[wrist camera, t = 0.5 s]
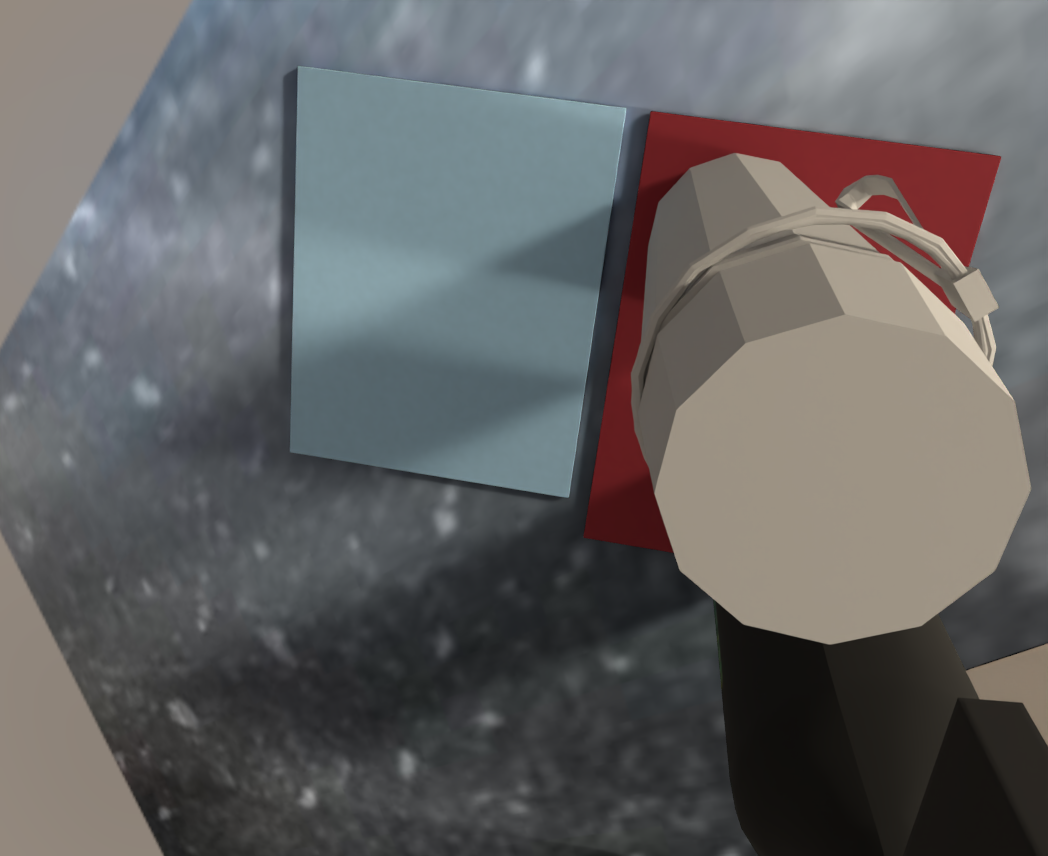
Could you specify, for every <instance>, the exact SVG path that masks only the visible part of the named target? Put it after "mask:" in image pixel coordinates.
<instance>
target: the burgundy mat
mask: <svg viewBox="0 0 1048 856" xmlns="http://www.w3.org/2000/svg"><path fill="white" fill-rule="evenodd" d="M732 153H739V154H743V155H748V156H753V157H758V158H763V159H768V160H773V161H778V162H781V163H782V164H783V165H784V166H785V167H786V168H787V169H788V170H789V171H791V172H792V173H793V174H794V175H795V176H796V177H797V178H798V179H799V180H800V181H802V182H803V183H804V184H805V185H806V186H807V187H808V188H809V189H810V190H811V191H812V192H814V193H815V194H816V195H817V196H818V197H819V198H820V199H821V200H822V201H823V202H825V203H826V204H827V205H828V206H829V207H831V208H838V206H837V205H836V203H835V201H836V199H837V198H838V196H839V195H840V193H841V192H842V191H843V189H844V188H846V187H847V186H849V185H851V184H852V183H854V182H856V181H857V180H859V179H861V178H862V177H864V176H867V175H881V176H885V177H889V178H892V179H893V181H894V183H895V184H896V186H897V187H898V189H899V191H900V192H901V194H902V195H903V197H904V199H905V200H906V202H907V203H908V205H909V206H910V208H911V210H912V211H913V213H914V214H915V216H916V218H917V219H918V221H919V222H920V224H921V226H922V227H923V229H924V230H926V231H928V232H930V233H932V234H934V235H936V236H939V237H941V238H943V240H944V241H945V242H946V244H947V245H948V246H949V247H950V249H951V250H952V251H953V253H954V254H955V255H956V256H957V258H958V259H959V260H960V262H961V263H962V264H963V265H964V266H965V267H969V263H970V260H971V257H972V253H973V250H974V247H975V243H976V240H977V237H978V233H979V230H980V226H981V223H982V220H983V216H984V213H985V210H986V206H987V203H988V200H989V196H990V193H991V190H992V186H993V183H994V180H995V176H996V173H997V170H998V166H999V163H1000V160H1001V157H1000V156H995V155H987V154H979V153H972V152H964V151H956V150H948V149H941V148H933V147H925V146H917V145H910V144H902V143H894V142H886V141H879V140H871V139H863V138H855V137H847V136H840V135H832V134H824V133H816V132H809V131H801V130H793V129H785V128H778V127H770V126H762V125H754V124H747V123H739V122H731V121H723V120H715V119H708V118H700V117H692V116H684V115H677V114H669V113H661V112H653V111H651V112H650V118H649V125H648V131H647V137H646V144H645V150H644V157H643V163H642V169H641V176H640V182H639V188H638V195H637V201H636V207H635V214H634V220H633V226H632V233H631V239H630V245H629V252H628V258H627V264H626V271H625V277H624V283H623V290H622V296H621V303H620V309H619V315H618V322H617V328H616V334H615V341H614V347H613V353H612V360H611V366H610V372H609V379H608V385H607V391H606V398H605V404H604V410H603V417H602V423H601V430H600V436H599V442H598V449H597V455H596V461H595V468H594V474H593V480H592V487H591V493H590V499H589V506H588V512H587V518H586V525H585V531H584V538H589V539H595V540H601V541H607V542H613V543H618V544H624V545H630V546H636V547H642V548H648V549H654V550H660V551H666V552H672V553H674V551H673V548H672V545H671V542H670V539H669V536H668V533H667V530H666V527H665V524H664V521H663V518H662V515H661V512H660V509H659V506H658V503H657V500H656V497H655V494H654V490H653V485H652V480H651V475H650V470H649V467H648V465H647V463H646V461H645V459H644V457H643V454H642V451H641V448H640V444H639V441H638V438H637V436H636V433H635V431H634V419H633V412H632V406H631V396H632V384H631V372H632V369H633V366H634V363H635V360H636V357H637V354H638V350H639V346H640V343H641V335H642V322H643V309H644V295H645V282H646V269H647V255H648V245H649V240H650V236H651V232H652V228H653V224H654V219H655V215H656V211H657V207H658V202H659V201H660V200H661V199H662V198H663V197H664V196H665V195H666V194H667V192H668V191H669V190H670V189H671V188H672V187H673V186H674V185H675V184H676V183H677V182H678V180H679V179H680V178H681V177H682V176H683V175H684V174H685V173H686V172H687V171H688V169H689V168H691V167H694V166H697V165H700V164H703V163H706V162H709V161H712V160H715V159H718V158H721V157H724V156H727V155H729V154H732ZM857 210H869V211H882V212H888V213H890V214H892V215H894V216H896V217H898V218H900V219H902V220H905V221H907V222H909V223H911V224H913V223H912V221H911V220H910V218H909V216H908V215H907V213H906V212H905V210H904V209H903V207H902V205H901V204H900V202H899V201H898V199H895V198H892V197H889V196H886V195H872V196H871V197H870V198H869V199H868V200H867V201H866V202H865V203H864V204H863V205H862V206H861V207H860V208H859V209H857ZM913 225H914V224H913ZM850 226H851V225H850ZM851 227H852V228H853V229H854V230H855V231H856V232H858V233H859V234H860V235H861V236H862V237H863V238H864V239H865V240H866V241H867V242H869V243H870V244H871V245H872V246H873V247H874V248H875V249H876V250H877V251H878V252H879V253H881V254H886V255H889V256H890V257H891V258H892V259H893V260H894V261H896V262H901V263H902V264H903V265H904V266H905V267H906V268H907V269H908V270H909V271H910V272H911V273H912V274H913V275H914V276H915V277H916V278H917V279H918V280H919V281H920V282H922V283H923V284H924V285H925V286H926V287H927V288H928V289H929V290H930V291H931V292H932V293H933V294H934V295H935V296H936V297H937V298H938V299H939V300H940V301H941V302H942V303H943V304H944V305H945V306H947V307H948V308H949V309H950V310H951V311H952V312H953V313H954V314H955V310H956V308H955V307H954V306H952V305H951V303H950V301H949V299H948V298H947V296H946V294H945V292H944V290H943V289H942V287H941V286H939V285H938V284H937V283H935V282H934V281H932V280H931V279H929V278H928V277H927V276H925V275H924V274H922V273H921V272H919V271H918V270H916V269H915V268H913V267H912V266H911V265H909V264H908V263H906V262H905V261H903V260H902V259H900V258H899V257H897V256H896V255H895V254H893V253H892V252H890V251H889V250H887V249H886V248H884V247H883V246H881V245H880V244H878V243H877V242H875V241H874V240H872V239H871V238H869V237H868V236H866V235H865V234H863V233H862V232H861V231H859V230H858V229H856V228H855V227H853V226H851ZM890 235H891V234H890ZM892 236H893V237H895V238H896V239H898V240H899V241H900V242H902V243H903V244H905V245H906V246H908V247H909V248H911V249H912V250H914V251H915V252H917V253H918V254H920V255H921V256H923V257H924V258H926V259H927V260H929V261H930V262H932V263H933V264H935V265H936V266H938V267H939V268H941V266H940V265H939V264H938V263H937V262H936V261H935V260H934V259H933V258H932V257H931V256H930V255H929V254H928V253H926V252H924V251H923V250H921V249H920V248H918V247H916V246H915V245H913V244H911V243H910V242H908V241H906V240H905V239H902V238H899V237H897V236H894V235H892Z"/></svg>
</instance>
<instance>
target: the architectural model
mask: <svg viewBox="0 0 1048 856" xmlns="http://www.w3.org/2000/svg"><path fill="white" fill-rule="evenodd" d="M966 672H967V674H968V676H969V678H970V680H971V682H972V684H973V686H974V689H975V691H976V693H977V695H978V697H979V699H983V700H995V701H1008V702H1020V703H1023V704H1024V706H1025V708H1026V709H1027V711H1028V713H1029V715H1030V716H1031V718H1032V720H1033V722H1034V723H1035V725H1036V727H1037V728H1038V730H1039V732H1040V734H1041V735H1042V737H1043V739H1044V740H1045V742H1046V744H1047V746H1048V644H1045V645H1042V646H1039V647H1036V648H1033V649H1030V650H1027V651H1024V652H1021V653H1018V654H1015V655H1012V656H1009V657H1006V658H1003V659H1000V660H997V661H994V662H991V663H988V664H985V665H982V666H979V667H976V668H973V669H970V670H967V671H966Z"/></svg>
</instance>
